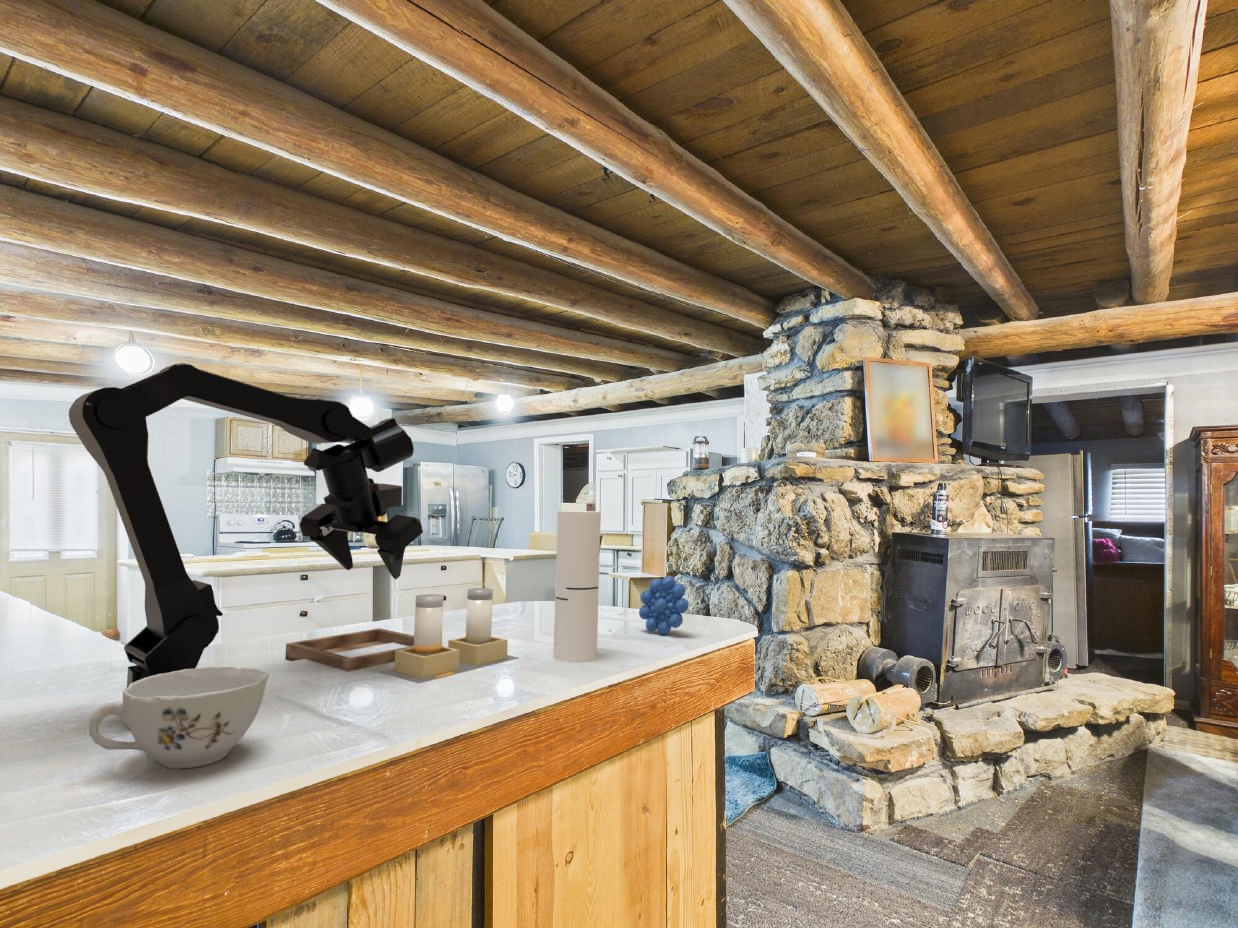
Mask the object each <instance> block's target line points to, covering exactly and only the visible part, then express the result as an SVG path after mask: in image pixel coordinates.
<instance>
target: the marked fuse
mask: <svg viewBox="0 0 1238 928" xmlns="http://www.w3.org/2000/svg"><path fill="white" fill-rule="evenodd" d="M443 617H444V595H442V594H436V593H433V594H432V593H431V594H429V593H428V594H418V595H416V596H415V609H414V632H413V634H414V635H413V636H414V647H413V651H414V654H417V655H421V656H428V655H433V654H438V653H441V651H442V646H443Z"/></svg>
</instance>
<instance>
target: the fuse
mask: <svg viewBox="0 0 1238 928" xmlns="http://www.w3.org/2000/svg"><path fill="white" fill-rule="evenodd" d="M493 591H494V589H493V588H488V587H485V588H484V587H478V588H477V587H475V588H468V589H467V599H466V600H467V601H466V623H465V624H466V625H465V637H466V643H470V644H474V645H480V644H485V643H489V642H491V636H492V622H493V621H492V620H493V619H492V617H493V598H494V597H493V596H494V592H493Z"/></svg>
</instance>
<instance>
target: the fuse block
mask: <svg viewBox="0 0 1238 928" xmlns="http://www.w3.org/2000/svg"><path fill="white" fill-rule="evenodd" d="M447 642H448V646H443V645H442V651H441V653H438V654H433V655H428V656H421V655H417V654H414V651H413V647H411V648H406V649H401V650H396V651H395V661H394V667H393V668H391V669H388V670H383V671H379V673H381V674H384V675H387V676H389V677H390V676H391V677H395V678H398V679H402V680H405V681H408V682H413V683H416V684H422V683H426V682H430V681H434V680H438V679H442V678H447V677H450V676H453V675H458V674H462V673H465V672H469V671H470V672H471V671H473V670H478V669H482V668H486V667H490V666H493V665H499V664H502V663H506V662H509V661H513V660H518V659H520V657H518V656H514V655H510V654H509V655H508V639H505V638H502V637H495V636H492V635H491V642H489V643H485V644H480V645H474V644H470V643H466V636H464V637H459V638H458V637H457V638H453V639H452V638H451V639H448V641H447Z"/></svg>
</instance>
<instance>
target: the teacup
mask: <svg viewBox="0 0 1238 928" xmlns="http://www.w3.org/2000/svg"><path fill="white" fill-rule="evenodd" d="M269 677H270V674H269V672H268V671H264V670H260V669H256V668H250V667H241V668H237V667H233V666H207V667H196V668H195V669H184V670H179V671H173V672H170V673H164V674H157V675H153V676H150V677H146V678H143V679H141V680H138V681H136V682H133V683H131V684H130V685H129V687H128V688H127V687H126V688H124V689H122V703H115V702H108V703H105V704H102V705H100V706H98V707H97V708H96V709H95V710H94V711H93V713H92V714H91V716H90V718H89V726H88V727H89V728H88V732H89V733H88V734H89V736H90V737H91V739H92V741H93V742H94V743H95V744H96V745H98V746H100V747H101V748H103V749H106V750H113V751H114V750H115V751H116V750H117V751H118V750H119V751H121V750H125V751H126V750H137V751H140V752H144V753H145V754H147V755H149V756H150V757H152V758H153V759H154V760H156V761H158V762H159V763H160V764H161V765H162V766H164V768H165V767H166V768H169V769H189V768H198V767H203V766H207V765H211V764H215V763H216V762H219V761H221V760H223V759H224V757H226V756H227V755H228V753H229V752H230V751H231V749H232V748H233V747H235V746H236V745H237V743H238V742H239V741H241V739H242V738H243V737H244V735H245V734H246V733H247V731H248V730H249V728H250V727H251V726H252V724H253V722H254V720H255V719H256V717H257V714H258V712H259V710H260V708H261V705H262V701H263V699H264V694H265V690H266V686H267V682H268V679H269ZM112 715H114V716H117V717H118V718H120V720H121V721H122V723H123V724H124V725H126V726H127V728H128V729H129V731H130V733H131V735H132V736H133V738H134V741H119V740H114V739H110V738H107V737H105V736H104V735H102V734H100V732H99V726H100V724H101V722H102V721H103V720H104V718H106V717H108V716H112Z"/></svg>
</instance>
